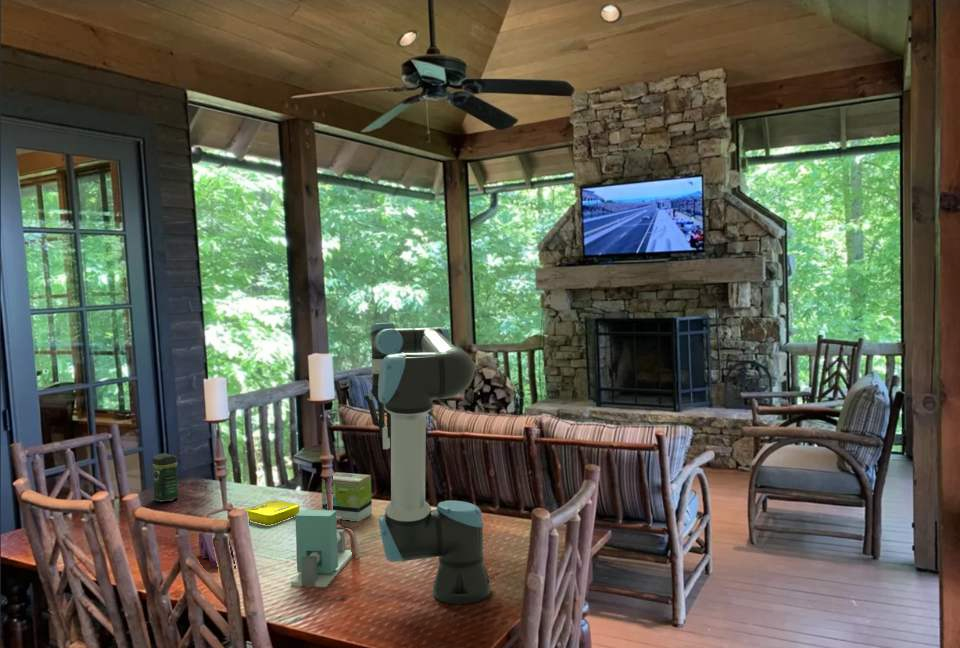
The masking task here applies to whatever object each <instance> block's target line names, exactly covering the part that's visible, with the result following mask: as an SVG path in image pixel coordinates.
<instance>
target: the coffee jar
mask: <svg viewBox="0 0 960 648" xmlns="http://www.w3.org/2000/svg"><path fill="white" fill-rule="evenodd" d="M152 470H153V499H154V498H155V499H158V500H166V499H172V498H177V497H178V496H179V483H178V458H177V456H176V455H174V454H169V453H166V452H163V453H157V454H155V455H154V456H153V457H152ZM178 498H179V497H178Z"/></svg>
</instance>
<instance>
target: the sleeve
mask: <svg viewBox="0 0 960 648" xmlns="http://www.w3.org/2000/svg"><path fill="white" fill-rule="evenodd" d="M294 519H295V544H296V545H295V546H296V547H295V548H296V568H297V569H296V570H297V573H300V572H301V559H302V558H303V557H304V556H309V555H310V554H312V553H313V551H321V557H322V560H320V561H319V562H318V563H317V569H318V573H333V572H334V570H335V569H336V568H337V567H338V549H337V529H338V524H337V523H338V519H337V518H336V511H332V510H323V509H322V510H321V509H318V510H317V509H302V510H300V511H299V513H298V514H297V515H295V518H294Z"/></svg>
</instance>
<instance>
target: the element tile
mask: <svg viewBox="0 0 960 648" xmlns="http://www.w3.org/2000/svg"><path fill="white" fill-rule="evenodd" d="M244 509H245V510H247V512H248V516H249V522H248V523H249V524H251V523H250V520H251V521H253V522H257V523H261V524H265V525H271V524H275V523H278V522H280V521H283V520H286V519H288V518H291V517H294V516H295V515H297V514H298V513H299V512H300V505H299V504H297V503H294V502H290V501H283V500H279V499H271V500H267V501H265V502H261V503H258V504H255V505H252V506H250V507H249V506H248V507H246V508H244Z"/></svg>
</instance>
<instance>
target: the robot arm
mask: <svg viewBox="0 0 960 648" xmlns="http://www.w3.org/2000/svg"><path fill="white" fill-rule="evenodd" d="M370 343H371V372H372V374H371V379H372V380H371V381H372V383H371V385H372V387H371V390H370V392H369V393H368V394H366V395H364V397H363V398H364V400H365V402H366V403H367V407H368V409H369V413H370V417H371V421H372V425H373V426H375V427H378V429H379V430H378V431H379V438H380V439H382V450H389V449H390V491H391V492H390V502H389V503H388V504H386V506H385V509H384V513H385V514H382V515H380V516H379V517H378V522H379V532H380V536H381V537H380V538H381V542H382V548H383V551H384V556H385V558H386V560H387V561H388V562H391V563H396V562H403V563H405V562H406V561H407V562H408V561H414V560H424V559H431V558H437V557H438V566H437V570H436V575H435V578H434V581H433V584H432V594H433V597H434V598H435V599H436V600H438V601H440V602H442V603H446V604H449V605H450V604H451V605H452V604H453V605H466V604H467V605H468V604H473V603H477V602H480V601H483V600H485V599H486V598H488V597H489V596H490V595H491V592H492V591H491V590H492V588H491V587H492V586H491V585H492V584H491V581H490V578H489V574H488V571H487V569H486V565H485V563H484V536H483V535H484V532H483V531H484V530H483V527H484V523H483V515H482V511H481V508H480V507H479V506H477V505H476V504H473V503H470V502H467V501H464V500H463V501H461V500H444V501H440V502H439V503H438V504H437V506H436V509H432V508H431V505H430V504H429V503H428V502H427V501H426V454H427V452H426V451H427V449H426V443H427V442H426V439H427V436H426V435H427V432H426V431H427V430H426V429H427V425H426V424H427V414H428V413H429V412H430V411H431V410H432V409H433V401H434V400H443V399H451V398H454V397H455V396H458V395H459V394H462V393H463V392H464V391H465V390H466V389H468V387H470V385H471V383H472V381H473V380H474V376H475V373H476V367H475V362H474V360H473V358H472V356H471V355H470V354H468V352H467V351H465V350H464V349H461V348H458V347H456V346H455V345H453V343H451V336H450V332H449V329H448V328H447V327H445V326H444V327H443V326H432V327H431V326H430V327H429V326H428V327H398V328H396V327H395V323H393V322H377V323H376V322H374V323H372V324H371V325H370ZM374 398H375V400H376V402H377V409H376V405H375V403H374V402H375V401H374ZM377 410H378V414H377ZM385 411H386V424H385Z"/></svg>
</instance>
